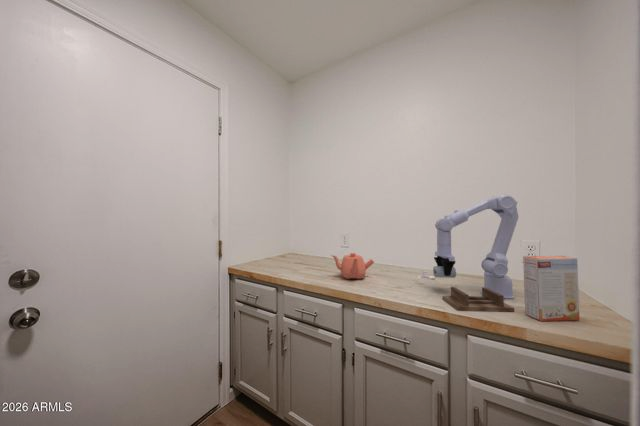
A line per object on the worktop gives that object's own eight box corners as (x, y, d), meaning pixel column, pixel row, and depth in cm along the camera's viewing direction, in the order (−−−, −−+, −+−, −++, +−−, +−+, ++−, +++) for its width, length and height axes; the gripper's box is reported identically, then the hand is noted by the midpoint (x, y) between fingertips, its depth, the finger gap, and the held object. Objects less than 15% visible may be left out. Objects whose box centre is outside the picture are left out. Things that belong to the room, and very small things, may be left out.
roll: (451, 276, 108) (450, 265, 108) (456, 278, 103) (456, 267, 103) (432, 275, 108) (432, 265, 109) (437, 278, 103) (437, 267, 104)
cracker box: (561, 313, 82) (559, 255, 83) (580, 321, 76) (579, 258, 77) (523, 314, 82) (522, 255, 82) (540, 321, 76) (538, 258, 76)
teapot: (356, 283, 120) (356, 257, 120) (330, 277, 133) (330, 253, 133) (375, 277, 132) (375, 253, 133) (350, 272, 145) (350, 250, 146)
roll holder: (491, 300, 96) (491, 286, 96) (514, 312, 84) (514, 296, 84) (442, 299, 97) (442, 286, 97) (457, 310, 85) (457, 295, 85)
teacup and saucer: (437, 279, 128) (437, 272, 128) (426, 281, 125) (426, 273, 125) (425, 276, 136) (425, 269, 137) (414, 277, 134) (414, 270, 134)
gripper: (428, 242, 113) (429, 270, 113) (442, 246, 99) (442, 278, 99) (443, 242, 113) (443, 270, 113) (459, 246, 99) (459, 278, 98)
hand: (444, 274), depth 106 cm, fingers closed on roll, 5 cm apart
